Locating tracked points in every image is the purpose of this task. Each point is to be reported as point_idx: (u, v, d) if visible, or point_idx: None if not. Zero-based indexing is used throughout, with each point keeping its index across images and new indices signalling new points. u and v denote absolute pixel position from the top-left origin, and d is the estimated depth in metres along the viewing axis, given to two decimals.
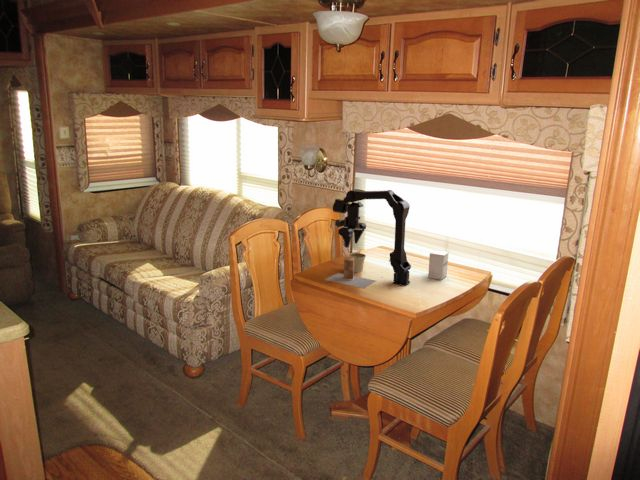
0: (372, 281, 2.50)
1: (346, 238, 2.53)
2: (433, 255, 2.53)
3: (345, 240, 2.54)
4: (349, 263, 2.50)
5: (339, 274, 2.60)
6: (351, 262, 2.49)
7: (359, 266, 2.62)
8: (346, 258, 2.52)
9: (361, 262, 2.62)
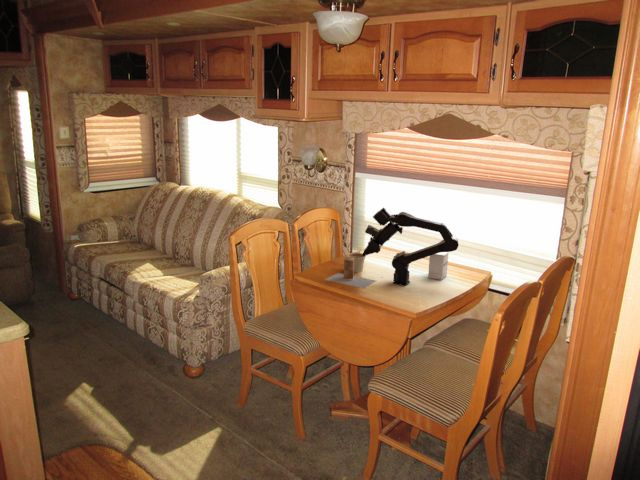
0: (372, 281, 2.50)
1: (369, 249, 2.44)
2: (433, 255, 2.53)
3: (367, 250, 2.44)
4: (349, 263, 2.50)
5: (339, 274, 2.60)
6: (351, 262, 2.49)
7: (359, 266, 2.62)
8: (346, 258, 2.52)
9: (361, 262, 2.62)
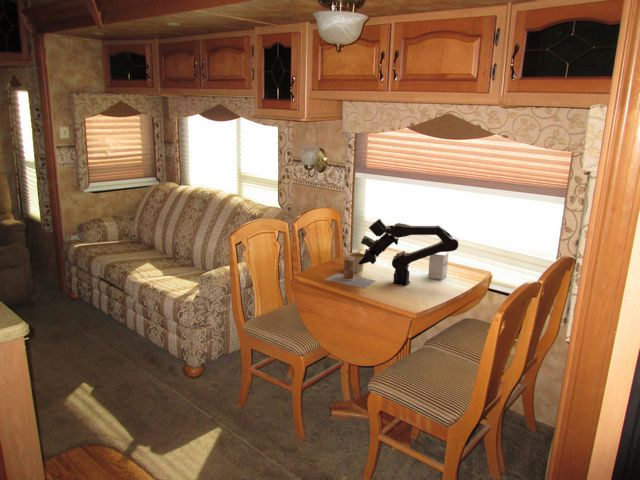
0: (372, 281, 2.50)
1: (366, 258, 2.48)
2: (433, 255, 2.53)
3: (363, 259, 2.48)
4: (349, 263, 2.50)
5: (339, 274, 2.60)
6: (351, 262, 2.49)
7: (359, 266, 2.62)
8: (346, 258, 2.52)
9: None
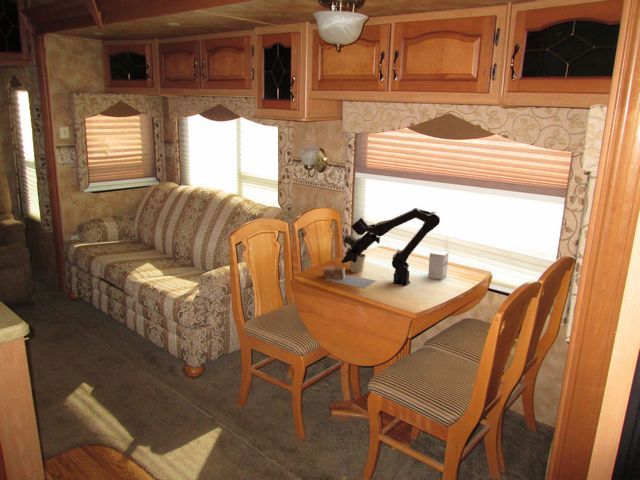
0: (372, 281, 2.50)
1: (348, 257, 2.50)
2: (433, 255, 2.53)
3: (346, 257, 2.50)
4: (326, 273, 2.53)
5: None
6: (325, 271, 2.53)
7: (359, 266, 2.62)
8: None
9: (361, 262, 2.62)
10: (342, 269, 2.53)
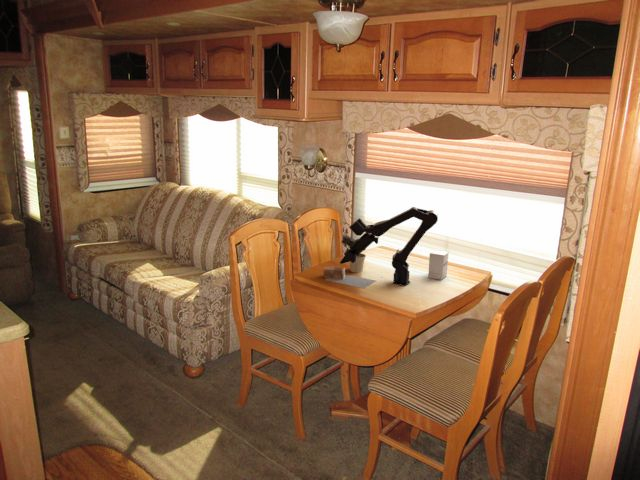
0: (372, 281, 2.50)
1: (347, 257, 2.50)
2: (433, 255, 2.53)
3: (344, 258, 2.50)
4: (326, 273, 2.53)
5: None
6: (325, 271, 2.53)
7: (359, 266, 2.62)
8: None
9: (361, 262, 2.62)
10: (342, 269, 2.53)
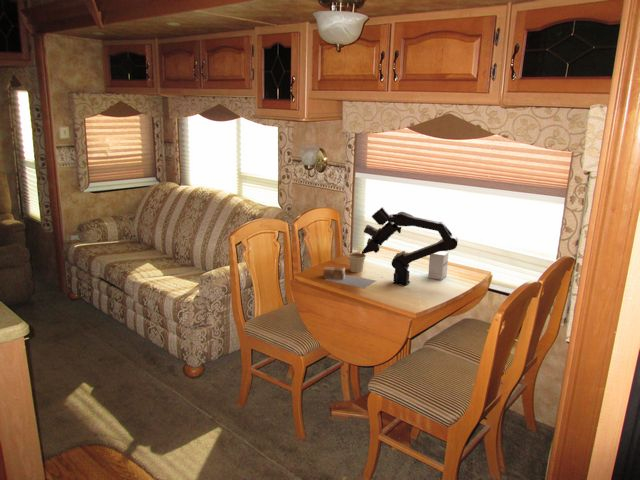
0: (372, 281, 2.50)
1: (369, 247, 2.47)
2: (433, 255, 2.53)
3: (366, 248, 2.47)
4: (326, 273, 2.53)
5: None
6: (325, 271, 2.53)
7: (359, 266, 2.62)
8: None
9: (361, 262, 2.62)
10: (342, 269, 2.53)
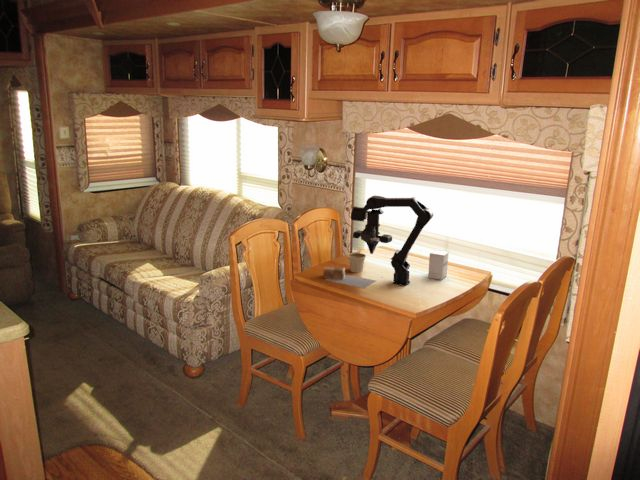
0: (372, 281, 2.50)
1: (374, 244, 2.49)
2: (433, 255, 2.53)
3: (374, 247, 2.49)
4: (326, 273, 2.53)
5: None
6: (325, 271, 2.53)
7: (359, 266, 2.62)
8: None
9: (361, 262, 2.62)
10: (342, 269, 2.53)
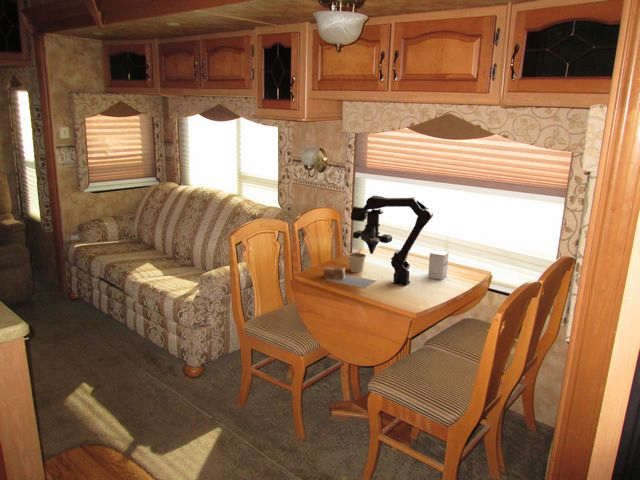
0: (372, 281, 2.50)
1: (374, 244, 2.49)
2: (433, 255, 2.53)
3: (374, 247, 2.49)
4: (326, 273, 2.53)
5: None
6: (325, 271, 2.53)
7: (359, 266, 2.62)
8: None
9: (361, 262, 2.62)
10: (342, 269, 2.53)
